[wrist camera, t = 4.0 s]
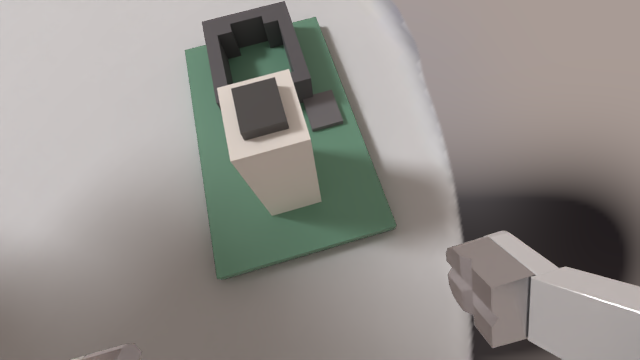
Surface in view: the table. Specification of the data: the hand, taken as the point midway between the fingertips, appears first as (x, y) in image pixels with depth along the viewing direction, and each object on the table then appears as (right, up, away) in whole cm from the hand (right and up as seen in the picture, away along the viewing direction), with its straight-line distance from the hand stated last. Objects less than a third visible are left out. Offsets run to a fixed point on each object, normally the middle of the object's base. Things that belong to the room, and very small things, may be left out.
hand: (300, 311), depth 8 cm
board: (-3, +7, +16) cm, 18 cm away
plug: (-2, +3, +14) cm, 14 cm away
